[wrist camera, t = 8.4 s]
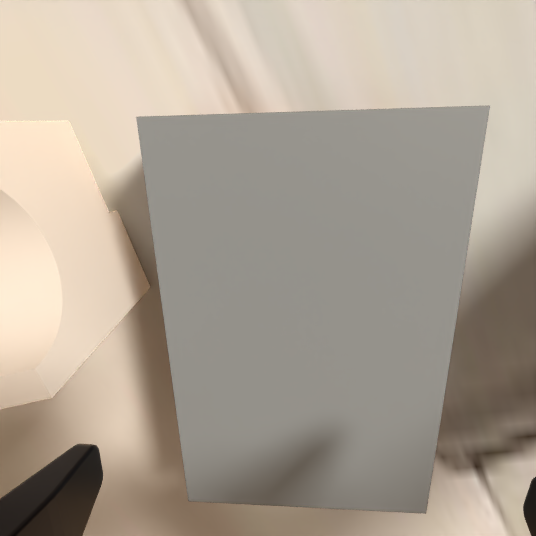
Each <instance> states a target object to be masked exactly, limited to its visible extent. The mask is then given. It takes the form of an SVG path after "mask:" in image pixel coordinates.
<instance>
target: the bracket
mask: <svg viewBox="0 0 536 536" xmlns="http://www.w3.org/2000/svg"><path fill="white" fill-rule="evenodd" d="M149 288H150V285H149V283H148V280H147V278H146V276H145V273H144V271H143V269H142V266H141V264H140V262H139V259H138V257H137V255H136V253H135V250H134V248H133V246H132V243H131V241H130V239H129V236H128V234H127V232H126V229H125V227H124V225H123V222H122V220H121V218H120V215H119V213H118V211H117V210H115V211H112V212H109V211H108V208H107V206H106V204H105V202H104V199H103V197H102V195H101V193H100V190H99V188H98V186H97V183H96V181H95V179H94V177H93V174H92V172H91V170H90V167H89V165H88V163H87V161H86V158H85V156H84V154H83V152H82V149H81V147H80V145H79V142H78V140H77V138H76V136H75V133H74V131H73V129H72V127H71V124H70V122H69V121H0V409H5V408H9V407H14V406H19V405H23V404H28V403H32V402H37V401H41V400H46V399H50V398H53V397H54V395H55V394H56V393H57V392H58V391H59V390H60V389H61V388H62V386H63V385H64V384H65V383H66V382H67V381H68V380H69V379H70V377H71V376H72V375H73V374H74V373H75V372H76V371H77V370H78V368H79V367H80V366H81V365H82V364H83V363H84V362H85V361H86V359H87V358H88V357H89V356H90V355H91V354H92V353H93V352H94V350H95V349H96V348H97V347H98V346H99V345H100V344H101V343H102V341H103V340H104V339H105V338H106V337H107V336H108V335H109V334H110V332H111V331H112V330H113V329H114V328H115V327H116V326H117V325H118V323H119V322H120V321H121V320H122V319H123V318H124V317H125V316H126V314H127V313H128V312H129V311H130V310H131V309H132V308H133V307H134V305H135V304H136V303H137V302H138V301H139V300H140V299H141V297H142V296H143V295H144V294H145V293H146V292H147V291H148V290H149Z"/></svg>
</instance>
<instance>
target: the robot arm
mask: <svg viewBox="0 0 536 536" xmlns="http://www.w3.org/2000/svg"><path fill="white" fill-rule="evenodd" d="M102 480H103V470H102V465H101V459H100V453H99V449H98V447H97V446H96V445H92V444H77V445H75V446H73V447H72V448H71V449H69V450H68V451H66V452H65V453H64V454H62V455H61V456H59V457H58V458H57V459H55V460H54V461H52V462H51V463H50V464H48V465H47V466H45V467H44V468H43V469H41V470H40V471H38V472H37V473H36V474H34V475H33V476H31V477H30V478H29V479H27V480H26V481H24V482H23V483H22V484H20V485H19V486H17V487H16V488H15V489H13V490H12V491H10V492H9V493H8V494H6V495H5V496H3V497H2V498H1V499H0V536H82V535H83V533H84V530H85V527H86V525H87V522H88V519H89V517H90V514H91V511H92V508H93V506H94V503H95V500H96V498H97V495H98V492H99V490H100V487H101V484H102ZM523 511H524V517H525V520H526V523H527V526H528V528H529V531H530V534H531V536H536V477H535V478H533V479H532V481H531V484H530V487H529V490H528V493H527V496H526V499H525V502H524V506H523Z"/></svg>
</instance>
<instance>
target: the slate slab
mask: <svg viewBox="0 0 536 536" xmlns="http://www.w3.org/2000/svg"><path fill="white" fill-rule="evenodd" d="M489 109H490V106H461V107H430V108H398V109H367V110H335V111H304V112H273V113H241V114H210V115H178V116H147V117H136V118H137V125H138V132H139V140H140V147H141V155H142V162H143V169H144V177H145V184H146V192H147V199H148V206H149V214H150V221H151V228H152V236H153V243H154V251H155V258H156V265H157V273H158V280H159V288H160V295H161V302H162V310H163V317H164V325H165V332H166V339H167V347H168V354H169V361H170V369H171V376H172V384H173V391H174V398H175V406H176V413H177V421H178V428H179V435H180V443H181V450H182V458H183V465H184V472H185V480H186V487H187V494H188V501H193V502H213V503H232V504H251V505H271V506H290V507H309V508H329V509H348V510H367V511H387V512H406V513H425V514H426V510H427V504H428V498H429V491H430V485H431V478H432V472H433V466H434V459H435V453H436V447H437V440H438V434H439V428H440V421H441V415H442V408H443V402H444V396H445V389H446V383H447V377H448V370H449V364H450V357H451V351H452V345H453V338H454V332H455V326H456V319H457V313H458V306H459V300H460V294H461V287H462V281H463V275H464V268H465V262H466V255H467V249H468V243H469V236H470V230H471V224H472V217H473V211H474V205H475V198H476V192H477V185H478V179H479V173H480V166H481V160H482V154H483V147H484V141H485V134H486V128H487V122H488V115H489Z"/></svg>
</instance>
